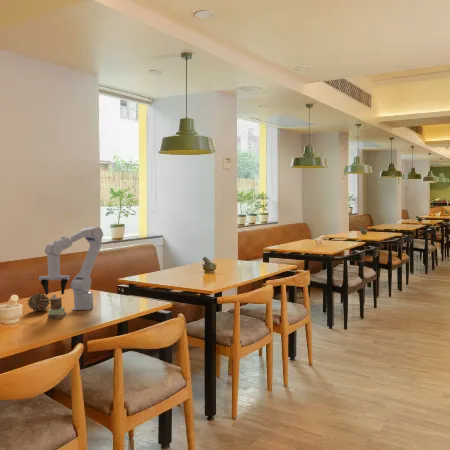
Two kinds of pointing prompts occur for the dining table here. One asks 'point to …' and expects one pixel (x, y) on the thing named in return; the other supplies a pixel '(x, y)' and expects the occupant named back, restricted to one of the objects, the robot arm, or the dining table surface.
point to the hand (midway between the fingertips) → (54, 294)
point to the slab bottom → (57, 316)
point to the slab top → (56, 311)
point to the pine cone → (39, 301)
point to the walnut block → (55, 303)
